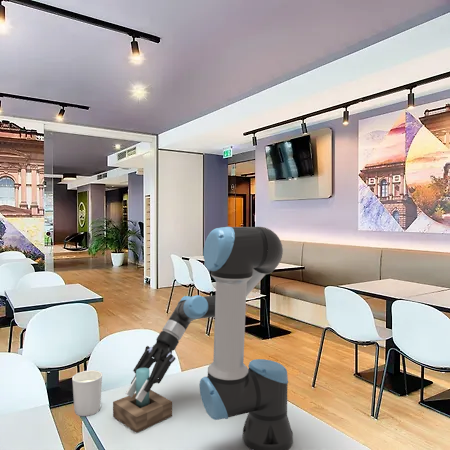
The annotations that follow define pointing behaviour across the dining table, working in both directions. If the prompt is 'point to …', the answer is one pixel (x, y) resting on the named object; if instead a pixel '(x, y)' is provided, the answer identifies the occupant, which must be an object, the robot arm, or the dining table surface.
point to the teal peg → (140, 380)
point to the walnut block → (142, 411)
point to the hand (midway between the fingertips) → (133, 397)
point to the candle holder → (87, 392)
